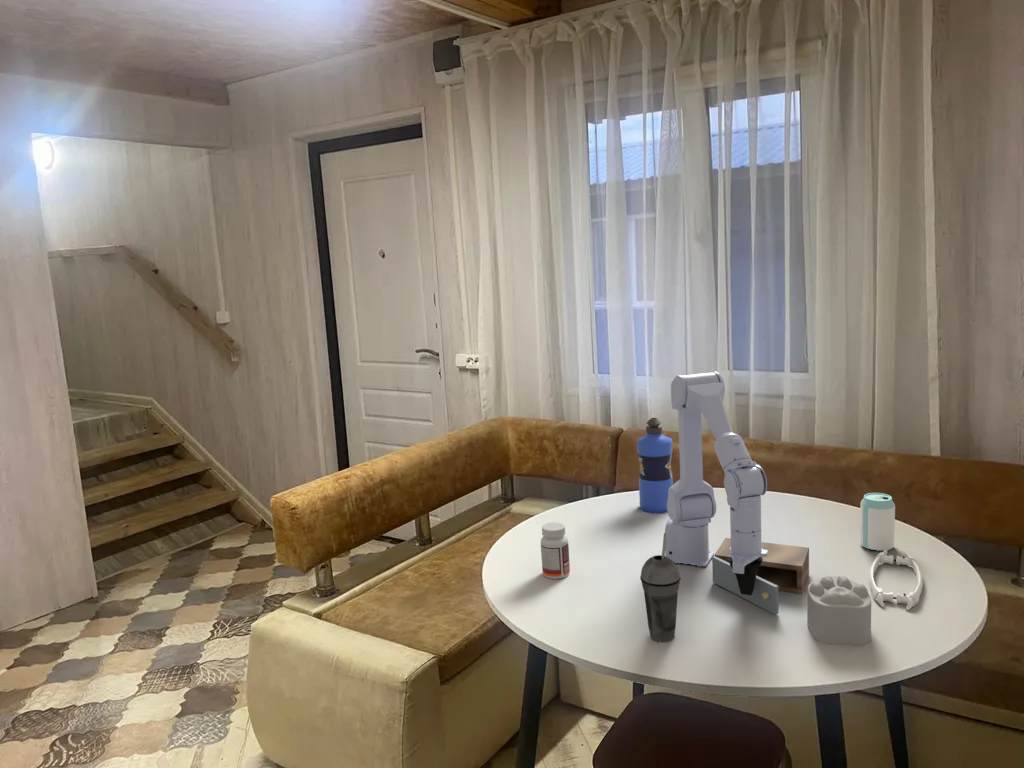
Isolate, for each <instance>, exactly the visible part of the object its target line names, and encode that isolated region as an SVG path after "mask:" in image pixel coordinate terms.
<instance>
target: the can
mask: <svg viewBox="0 0 1024 768" xmlns="http://www.w3.org/2000/svg"><path fill="white" fill-rule="evenodd" d="M859 511H860V512H859V513H860V515H859V516H860V520H859V521H860V524H859V526H860V527H859V529H860V530H859V534H860V535H859V544H860V545H861V546H862V547H863V548H865V549H866V548H868V549H871V550H878V551H883V552H884V550H888V551H890V550H892V549H893V548H894V547H895V530H896V529H895V527H896V526H895V525H896V522H895V521H896V504H895V502H894V501H893V497H892V496H891V495H889V494H887V493H882V492H869V493H866V494H864V495H863V498H862V499H861V501H860V510H859ZM868 549H867V550H868ZM871 550H870V551H871ZM878 551H877V552H878Z"/></svg>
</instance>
